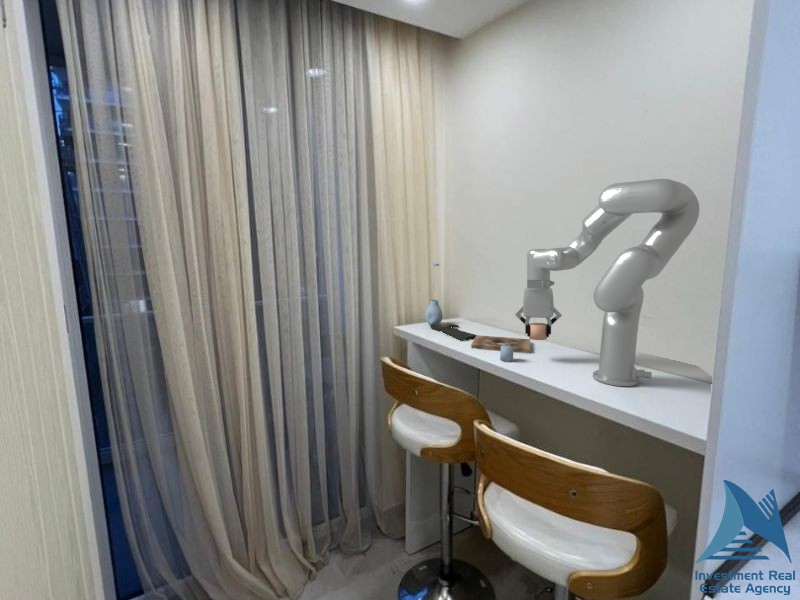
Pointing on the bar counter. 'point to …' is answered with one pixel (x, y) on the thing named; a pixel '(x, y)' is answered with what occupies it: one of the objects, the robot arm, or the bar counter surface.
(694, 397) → the bar counter surface
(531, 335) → the tan rounded lump
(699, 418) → the bar counter surface
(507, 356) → the blue-grey rounded cylinder
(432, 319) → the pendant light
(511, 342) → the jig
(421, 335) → the bar counter surface
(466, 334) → the firearm
